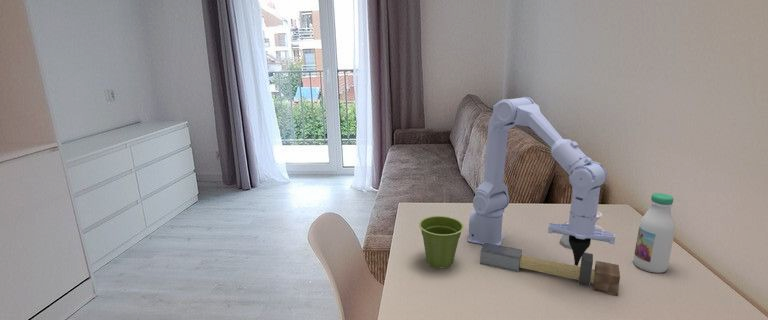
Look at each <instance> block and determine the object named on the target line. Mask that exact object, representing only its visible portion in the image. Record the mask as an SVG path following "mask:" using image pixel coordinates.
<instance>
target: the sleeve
mask: <svg viewBox="0 0 768 320" xmlns="http://www.w3.org/2000/svg"><path fill="white" fill-rule="evenodd" d="M522 254H523V249H519V248H515V247H509V246H506V245H505V246H504V245H495V244H490V243H484V245H483V244H482V247H481V248H480V260H479V264H480V265H482V266H487V267H491V268H497V269H499V270H500V269H501V270H505V271H511V272H513V273H519V272H520V269H521V268H520V267H519V263H520V256H521V255H522Z"/></svg>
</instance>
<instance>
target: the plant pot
mask: <svg viewBox="0 0 768 320" xmlns="http://www.w3.org/2000/svg"><path fill="white" fill-rule="evenodd" d="M418 227H419V229H420V231H421V235H422V239H423V246H424V253H425V261H426V263H427V265H429V266H430V267H432V268H435V269H441V268H442V269H448V268H450V267H452V266H453V264H454V261H455V257H456V251H457V247H458V244H459V241H460V240H459V239H460V237H461V234H462V232H463V231H464V229H465V226H464V224H463V222H462V221H460V220H459V219H456V218H454V217H450V216H445V215H434V216H432V215H431V216H427V217H425V218H423V219H420V220H419V222H418Z"/></svg>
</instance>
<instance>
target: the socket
mask: <svg viewBox="0 0 768 320" xmlns="http://www.w3.org/2000/svg"><path fill="white" fill-rule="evenodd" d="M594 264H595V265H594V270H595V281H594V283H593V284H592V285H593V286H592V287H593V289H592V290H593V291H594V292H599V293H602V294H606V295H612V296H616V297H617V296H618V293H619V287H620V280H621V273H620V272H621V271H620V266H619V264H617V263H611V262H605V261H600V260H595V263H594Z"/></svg>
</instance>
